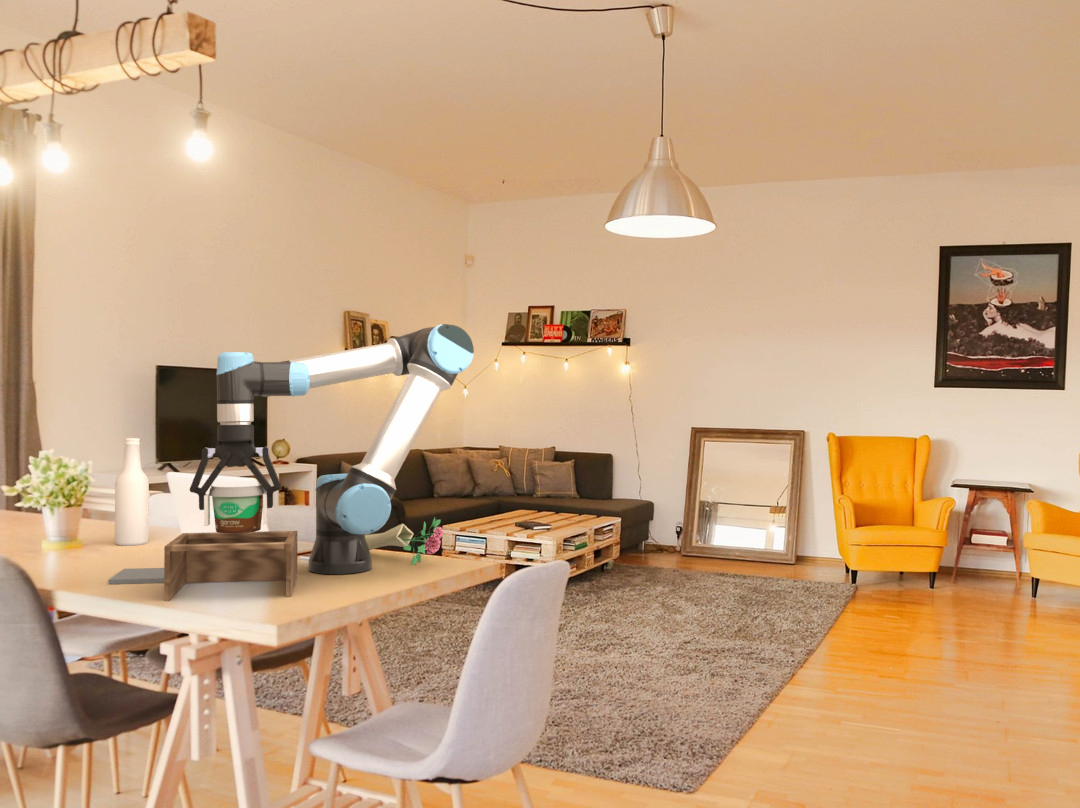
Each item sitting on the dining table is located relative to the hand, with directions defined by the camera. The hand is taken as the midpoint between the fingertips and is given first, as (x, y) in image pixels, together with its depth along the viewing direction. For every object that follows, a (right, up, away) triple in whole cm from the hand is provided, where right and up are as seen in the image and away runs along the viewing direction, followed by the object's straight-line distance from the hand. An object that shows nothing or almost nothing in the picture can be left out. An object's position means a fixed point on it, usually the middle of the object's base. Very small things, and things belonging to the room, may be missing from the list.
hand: (236, 524), depth 203 cm
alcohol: (-50, -14, +63) cm, 82 cm away
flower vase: (+29, -14, +38) cm, 50 cm away
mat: (-24, -14, +13) cm, 31 cm away
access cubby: (0, -14, 0) cm, 14 cm away
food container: (0, -2, 0) cm, 2 cm away
